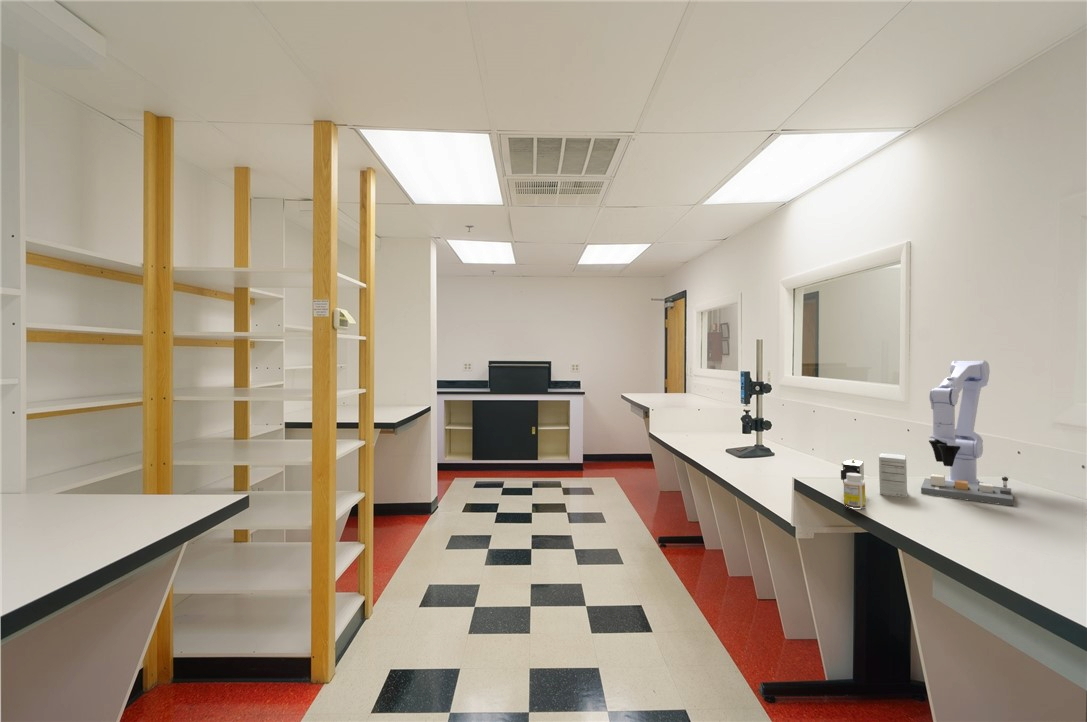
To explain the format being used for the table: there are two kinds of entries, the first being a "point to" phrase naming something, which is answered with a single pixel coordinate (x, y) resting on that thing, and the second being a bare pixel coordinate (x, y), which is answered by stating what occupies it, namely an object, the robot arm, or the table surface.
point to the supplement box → (893, 474)
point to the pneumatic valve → (852, 468)
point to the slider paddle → (937, 480)
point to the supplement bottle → (854, 491)
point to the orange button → (961, 484)
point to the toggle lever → (1005, 481)
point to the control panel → (968, 492)
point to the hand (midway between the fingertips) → (944, 463)
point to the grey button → (986, 487)
